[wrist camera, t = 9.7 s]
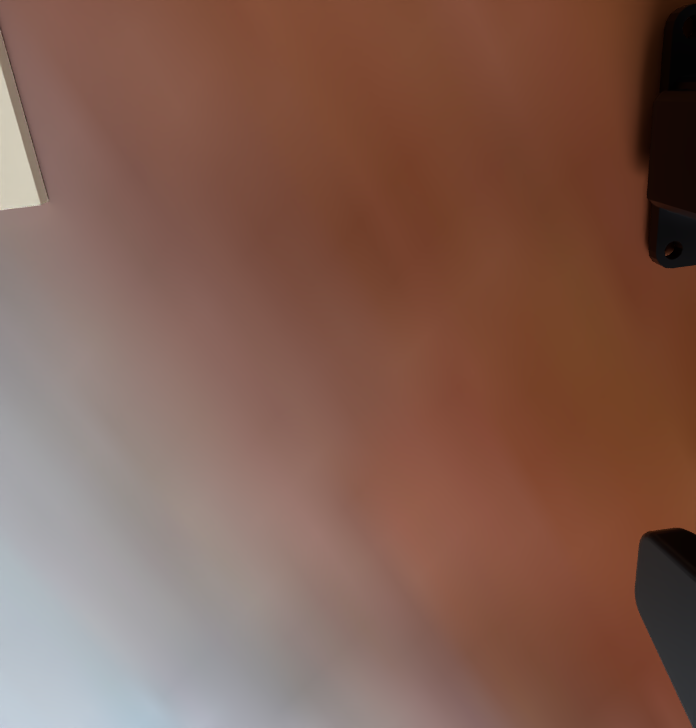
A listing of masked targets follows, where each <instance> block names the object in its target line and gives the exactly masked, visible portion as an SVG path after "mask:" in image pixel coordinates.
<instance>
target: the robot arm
mask: <svg viewBox="0 0 696 728" xmlns="http://www.w3.org/2000/svg"><path fill="white" fill-rule="evenodd" d="M688 17H689V18H690V19H691V20H692V21H693V25H694V28H693V31H692V34H691V35H690V36H689V37H688V38H686V36H685V35H684V34H683V25H684V22H685V21H686V20H687V18H688ZM647 198H648V199H649V200H650V201H651V202H652V207H651V221H650V235H649V249H648V250H649V256H650V258H651V259H652V261H653V262H655V263H657V264H659V265H661V266H663V267H665V268H677V267H684V266H692V265H696V4H691V5H686V6H683V7H680V8H678V9H676V10H675V11H674V12H673V13H672V14H671V15H670V16H669V18H668V20H667V21H666V25H665V29H664V38H663V52H662V66H661V80H660V94H659V96H658V97H657V98H656V100H655V101H654V103H653V115H652V130H651V144H650V159H649V174H648V189H647ZM673 241H674V244H675V247H674V250H673V252H672V253H671V254H670V255H667V256H665V252H664V251H665V248H666V246H667V245H668V244H669V243H671V242H673ZM635 599H636V604H637V607H638V610H639V613H640V615H641V618H642V620H643V622H644V624H645V626H646V628H647V630H648V633H649V635H650V637H651V639H652V641H653V643H654V645H655V648H656V650H657V652H658V654H659V656H660V658H661V660H662V663H663V665H664V667H665V669H666V671H667V673H668V675H669V678H670V680H671V682H672V684H673V686H674V688H675V690H676V693H677V695H678V697H679V699H680V701H681V703H682V705H683V708H684V710H685V712H686V714H687V716H688V718H689V720H690V723H691V725H692V727H693V728H696V534H694V533H692V532H690V531H687V530H685V529H682V528H670V529H663V530H656V531H649V532H647V533H645V534H644V535H643V536H642V537H641V539H640V543H639V551H638V561H637V571H636V581H635Z"/></svg>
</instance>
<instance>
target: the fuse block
mask: <svg viewBox="0 0 696 728" xmlns="http://www.w3.org/2000/svg"><path fill="white" fill-rule="evenodd" d="M48 201H49V200H48V196H47V193H46V189H45V186H44V182H43V179H42V175H41V172H40V168H39V164H38V161H37V157H36V154H35V150H34V147H33V143H32V140H31V136H30V133H29V129H28V125H27V122H26V118H25V115H24V111H23V108H22V104H21V101H20V97H19V94H18V90H17V87H16V83H15V79H14V76H13V72H12V69H11V65H10V62H9V58H8V55H7V51H6V48H5V44H4V41H3V37H2V33H1V30H0V210H5V209H13V208H21V207H29V206H38V205H42V204H44V203H46V202H48Z"/></svg>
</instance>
